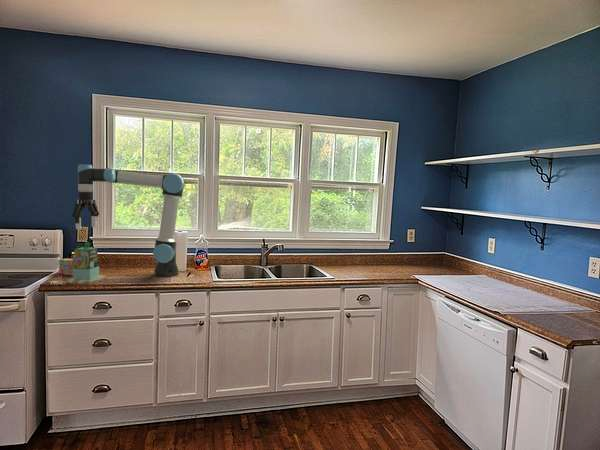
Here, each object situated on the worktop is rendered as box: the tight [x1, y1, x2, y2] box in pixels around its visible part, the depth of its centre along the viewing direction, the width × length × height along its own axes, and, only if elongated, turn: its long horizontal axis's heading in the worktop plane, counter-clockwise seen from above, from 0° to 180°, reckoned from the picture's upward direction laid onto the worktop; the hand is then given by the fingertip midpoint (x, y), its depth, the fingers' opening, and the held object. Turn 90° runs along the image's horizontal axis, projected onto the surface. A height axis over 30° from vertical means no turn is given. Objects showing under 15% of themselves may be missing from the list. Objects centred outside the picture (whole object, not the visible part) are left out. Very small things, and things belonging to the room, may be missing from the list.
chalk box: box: [73, 242, 98, 269], centre depth 234 cm, size 9×9×15 cm
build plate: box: [63, 274, 108, 285], centre depth 235 cm, size 16×16×2 cm
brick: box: [72, 265, 100, 280], centre depth 235 cm, size 10×10×6 cm
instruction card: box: [44, 280, 68, 285], centre depth 227 cm, size 10×7×1 cm
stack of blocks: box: [58, 255, 75, 276], centre depth 251 cm, size 21×6×12 cm, turn 84°
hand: (86, 228), depth 233 cm, fingers open, 13 cm apart
